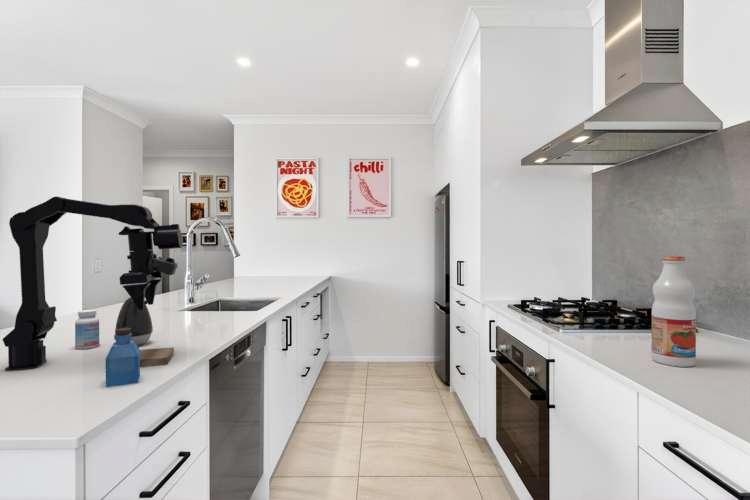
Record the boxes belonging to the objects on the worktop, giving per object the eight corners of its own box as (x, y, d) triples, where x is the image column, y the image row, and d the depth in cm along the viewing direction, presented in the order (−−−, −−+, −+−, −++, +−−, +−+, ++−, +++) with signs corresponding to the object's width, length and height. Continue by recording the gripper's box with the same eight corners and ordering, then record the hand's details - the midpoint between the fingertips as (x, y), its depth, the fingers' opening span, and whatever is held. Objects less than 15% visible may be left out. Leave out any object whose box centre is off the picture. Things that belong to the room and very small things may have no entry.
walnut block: (119, 371, 102) (119, 361, 102) (130, 359, 112) (130, 350, 112) (167, 366, 106) (167, 357, 106) (173, 355, 116) (173, 347, 116)
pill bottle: (86, 350, 121) (86, 312, 120) (70, 349, 122) (69, 312, 122) (104, 345, 126) (104, 309, 126) (88, 344, 128) (87, 309, 128)
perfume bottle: (105, 387, 89) (105, 333, 89) (109, 379, 94) (108, 328, 94) (138, 382, 92) (137, 330, 92) (139, 375, 97) (139, 325, 97)
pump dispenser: (141, 348, 122) (141, 298, 122) (107, 348, 122) (107, 298, 122) (159, 340, 132) (159, 294, 132) (128, 340, 132) (128, 294, 132)
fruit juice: (664, 355, 113) (665, 255, 112) (703, 364, 104) (704, 256, 104) (643, 359, 109) (644, 256, 108) (682, 369, 100) (683, 257, 100)
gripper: (165, 248, 104) (170, 308, 105) (180, 248, 122) (184, 299, 123) (116, 252, 101) (121, 313, 102) (139, 251, 119) (143, 303, 120)
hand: (146, 307), depth 112 cm, fingers open, 9 cm apart
